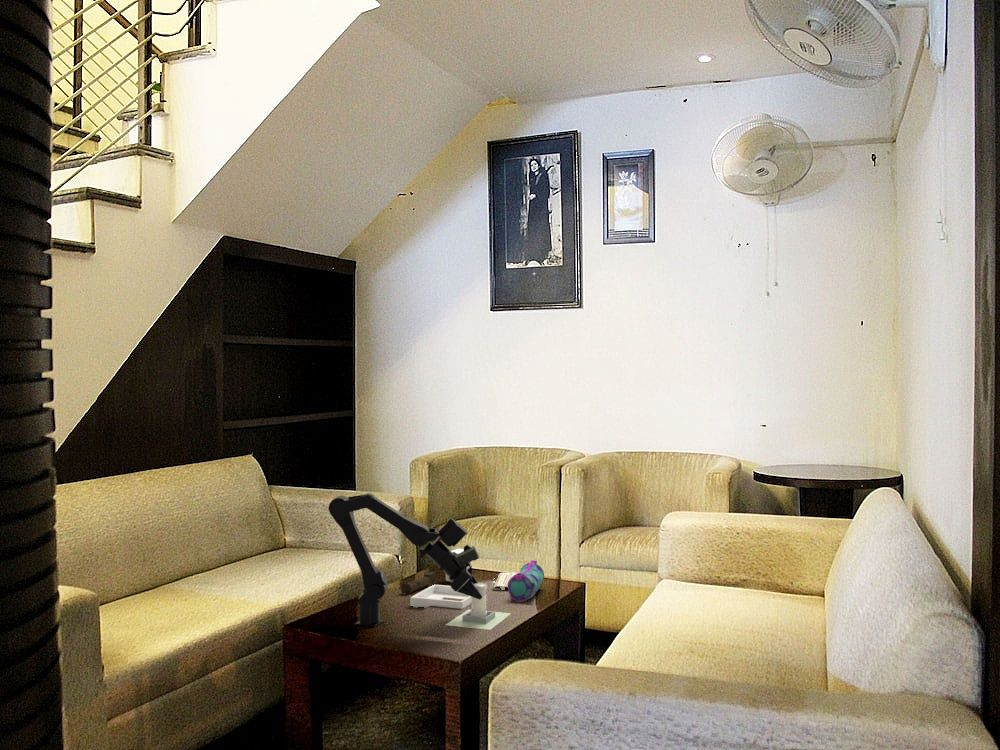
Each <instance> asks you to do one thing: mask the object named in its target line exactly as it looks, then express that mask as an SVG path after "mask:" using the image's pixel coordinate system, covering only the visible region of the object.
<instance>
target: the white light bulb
mask: <svg viewBox="0 0 1000 750" xmlns="http://www.w3.org/2000/svg"><path fill="white" fill-rule="evenodd" d="M474 586H475V587H476V588H477V590H478V591H479V593H480V594H481V595H482V598H481V599H480V600H479V599H477V598H474V597H472V603H471V616H473V617H483V618H485V617H487V611H488V610H487V594H488V585H487V584H486V583H482V582H481V583H479V582H478V583H477V584H474Z"/></svg>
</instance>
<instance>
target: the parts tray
mask: <svg viewBox="0 0 1000 750" xmlns="http://www.w3.org/2000/svg"><path fill="white" fill-rule="evenodd" d="M445 598H448V599H445ZM409 599H410V601H409V603H410V605H409V607H410V606H413V607H412V608H418V607H424V608H423V609H427V608H429V607H430V606H431V607H438V608H439V607H441V608H450V609H451V608H452V609H460V610H463V609H465V608H466V607H468V606H469V605H472V597H471V596H469V595H466V594H463V593H460V592H457V591H456V592H455V591H454V590H453V589H452V588H451V585H444V584H434V585H432V586H427V588H425V589H423V590H421V591H419V592H417V593H416V594H414V595H412V596H410V598H409ZM453 599H460V600H461V601H460V600H453Z"/></svg>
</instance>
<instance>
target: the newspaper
mask: <svg viewBox="0 0 1000 750" xmlns="http://www.w3.org/2000/svg"><path fill="white" fill-rule="evenodd" d="M515 574H518V572H517V573H514V572H500V573H499V574H498V578H497V580H496V582H495V581H492V584H493V583H495V585H494V587H492V590H493V591H501V590H500V589H501V588H500V586H501V587H506V588H508V582H509V580H510V579H511V578H512V577H513V576H514V575H515ZM494 579H495V578H494V577H493V580H494Z"/></svg>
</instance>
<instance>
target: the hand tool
mask: <svg viewBox="0 0 1000 750" xmlns="http://www.w3.org/2000/svg"><path fill="white" fill-rule="evenodd" d="M423 575H424V576H422V577H420V578H417V579H415V580H412V581H409V582H404V583H402V584H401V585H400V591H401V594H402V593H405V594H404V595H410V594H413V592H416V591H418V590H420V589H423V588H425V587H430V586H431V585H433V584H434V585H436V583H437V575H436V571H434V570H433V571H430V572H426V573H424V574H423Z"/></svg>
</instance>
